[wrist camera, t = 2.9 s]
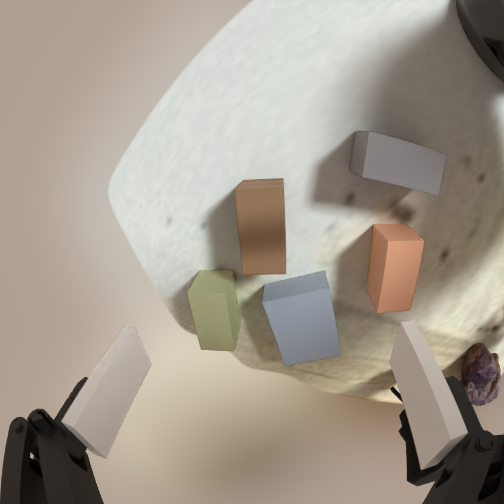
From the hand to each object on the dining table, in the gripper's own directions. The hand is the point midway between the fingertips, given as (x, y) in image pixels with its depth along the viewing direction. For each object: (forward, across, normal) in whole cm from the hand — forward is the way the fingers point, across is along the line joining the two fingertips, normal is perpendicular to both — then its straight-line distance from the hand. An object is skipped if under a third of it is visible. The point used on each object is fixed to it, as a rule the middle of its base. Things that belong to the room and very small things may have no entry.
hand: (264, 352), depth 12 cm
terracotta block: (+18, +12, -4) cm, 22 cm away
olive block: (+18, -7, -9) cm, 21 cm away
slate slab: (+18, +3, -11) cm, 21 cm away
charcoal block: (+18, +12, +7) cm, 23 cm away
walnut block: (+18, -1, +1) cm, 18 cm away
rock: (+18, +36, -26) cm, 48 cm away
